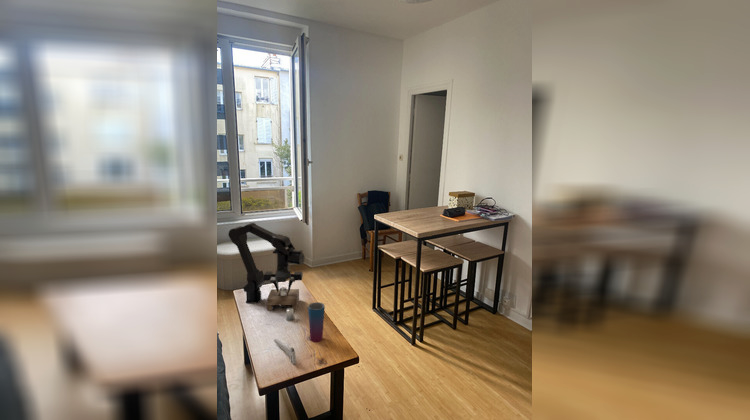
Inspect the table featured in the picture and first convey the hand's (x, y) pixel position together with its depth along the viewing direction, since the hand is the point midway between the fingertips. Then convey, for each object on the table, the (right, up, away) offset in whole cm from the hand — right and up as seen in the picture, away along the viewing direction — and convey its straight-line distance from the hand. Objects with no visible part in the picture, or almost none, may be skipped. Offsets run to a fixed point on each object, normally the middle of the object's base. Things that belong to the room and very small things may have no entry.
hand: (283, 292), depth 185 cm
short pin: (+6, -10, -13) cm, 17 cm away
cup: (+21, -14, -29) cm, 38 cm away
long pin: (0, -7, +1) cm, 7 cm away
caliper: (+10, -15, -39) cm, 43 cm away
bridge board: (0, -7, +1) cm, 7 cm away
